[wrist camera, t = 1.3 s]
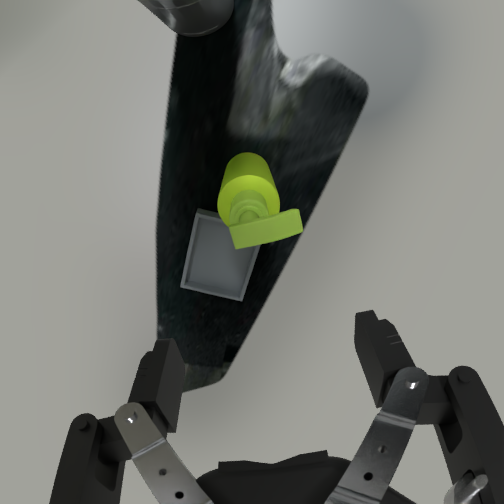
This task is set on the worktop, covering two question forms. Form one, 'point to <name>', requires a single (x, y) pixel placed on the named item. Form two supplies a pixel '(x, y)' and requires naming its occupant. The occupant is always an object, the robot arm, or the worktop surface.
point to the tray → (216, 259)
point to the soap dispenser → (254, 204)
